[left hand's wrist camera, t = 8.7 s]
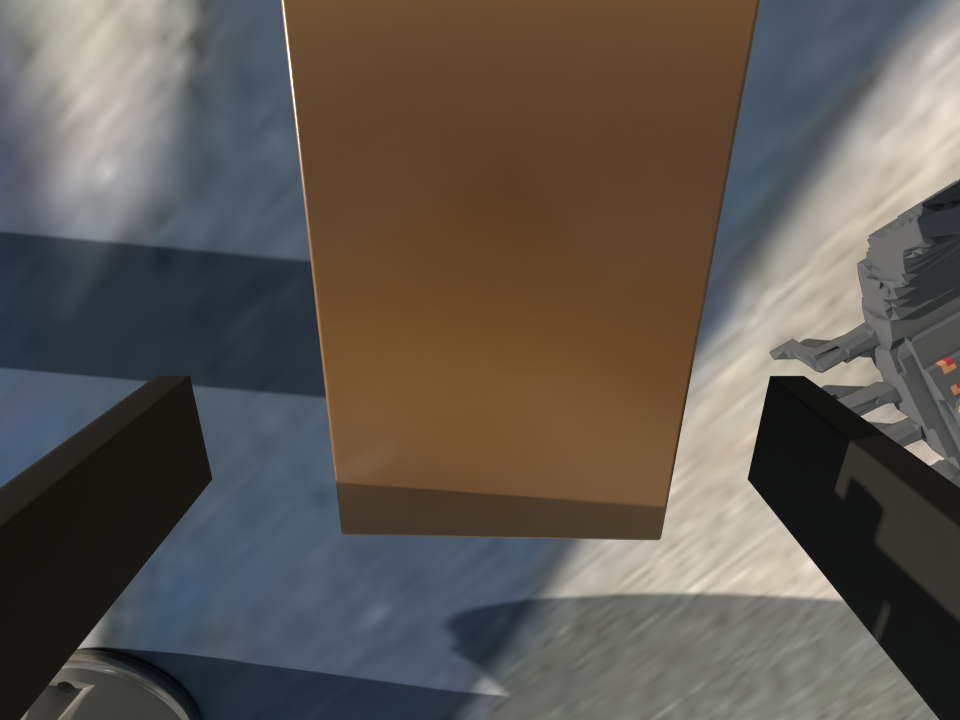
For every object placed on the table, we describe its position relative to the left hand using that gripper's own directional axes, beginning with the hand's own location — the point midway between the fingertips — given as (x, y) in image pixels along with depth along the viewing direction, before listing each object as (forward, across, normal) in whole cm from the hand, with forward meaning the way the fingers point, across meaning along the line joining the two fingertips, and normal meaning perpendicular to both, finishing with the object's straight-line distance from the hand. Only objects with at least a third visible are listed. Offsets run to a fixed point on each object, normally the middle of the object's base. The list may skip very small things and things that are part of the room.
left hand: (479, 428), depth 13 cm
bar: (+5, -1, -11) cm, 12 cm away
